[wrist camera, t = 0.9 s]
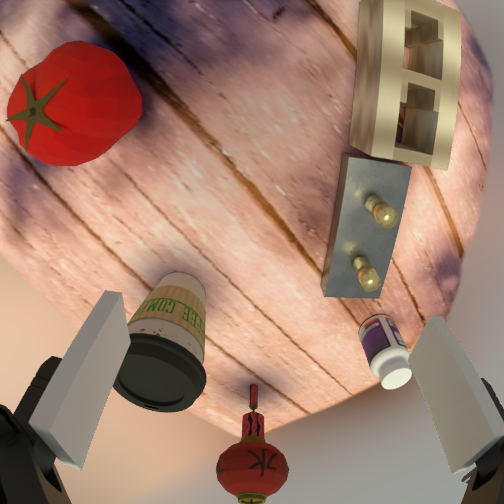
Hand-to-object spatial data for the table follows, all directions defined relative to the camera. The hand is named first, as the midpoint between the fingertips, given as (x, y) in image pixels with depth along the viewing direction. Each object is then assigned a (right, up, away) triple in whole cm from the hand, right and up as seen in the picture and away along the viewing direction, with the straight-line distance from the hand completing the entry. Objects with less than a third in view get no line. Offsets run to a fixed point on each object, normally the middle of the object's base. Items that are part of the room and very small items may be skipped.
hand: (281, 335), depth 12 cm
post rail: (+11, +6, +22) cm, 25 cm away
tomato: (-17, +19, +16) cm, 30 cm away
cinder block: (+13, +21, +14) cm, 29 cm away
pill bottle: (+16, -7, +29) cm, 34 cm away
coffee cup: (-10, -2, +26) cm, 28 cm away
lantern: (-1, -18, +34) cm, 39 cm away
